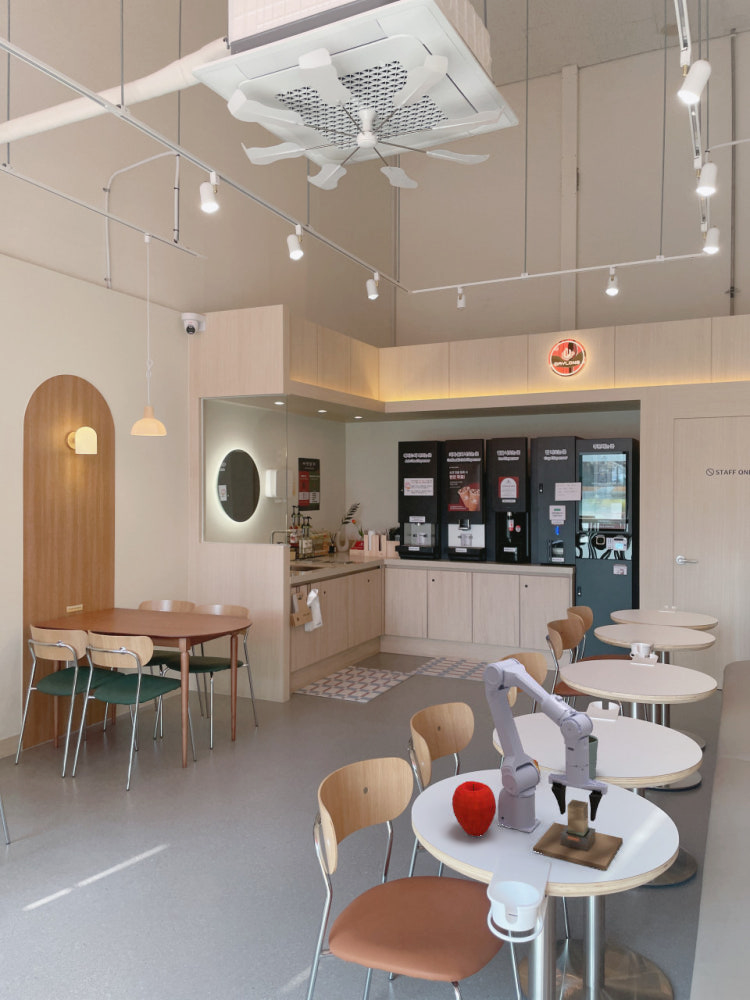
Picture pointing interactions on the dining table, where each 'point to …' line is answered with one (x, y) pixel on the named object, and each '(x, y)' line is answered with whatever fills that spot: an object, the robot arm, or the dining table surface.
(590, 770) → the green cup
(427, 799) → the dining table surface
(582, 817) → the post
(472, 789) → the apple
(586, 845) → the sleeve
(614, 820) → the dining table surface
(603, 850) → the board
